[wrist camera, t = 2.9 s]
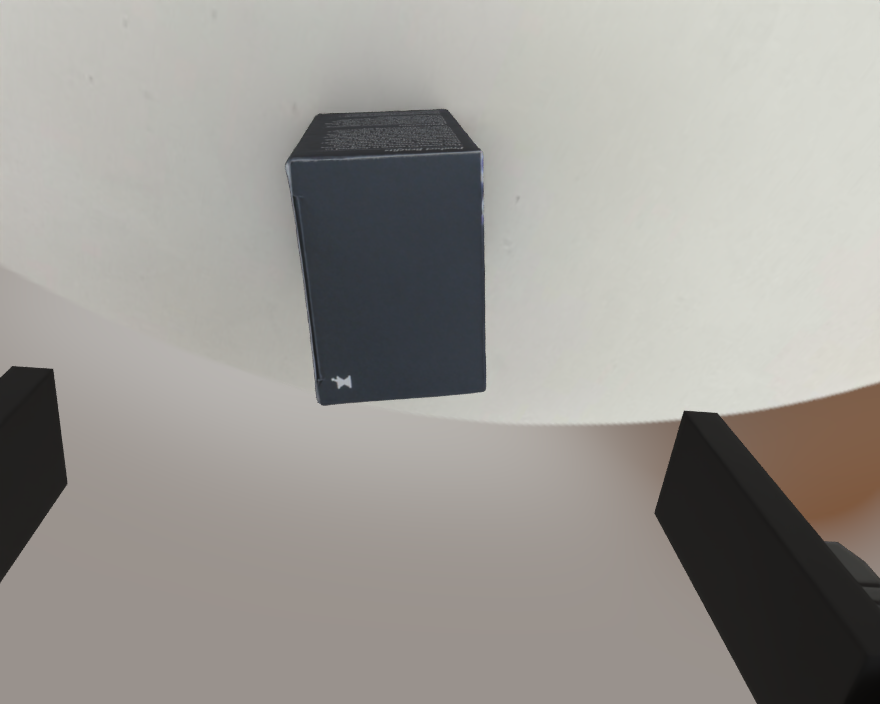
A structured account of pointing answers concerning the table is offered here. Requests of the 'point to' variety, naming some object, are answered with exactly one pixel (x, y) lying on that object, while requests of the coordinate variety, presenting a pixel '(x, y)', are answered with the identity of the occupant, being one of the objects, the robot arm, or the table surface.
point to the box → (391, 254)
